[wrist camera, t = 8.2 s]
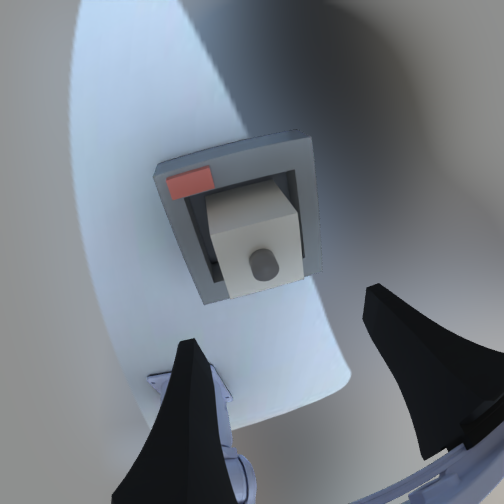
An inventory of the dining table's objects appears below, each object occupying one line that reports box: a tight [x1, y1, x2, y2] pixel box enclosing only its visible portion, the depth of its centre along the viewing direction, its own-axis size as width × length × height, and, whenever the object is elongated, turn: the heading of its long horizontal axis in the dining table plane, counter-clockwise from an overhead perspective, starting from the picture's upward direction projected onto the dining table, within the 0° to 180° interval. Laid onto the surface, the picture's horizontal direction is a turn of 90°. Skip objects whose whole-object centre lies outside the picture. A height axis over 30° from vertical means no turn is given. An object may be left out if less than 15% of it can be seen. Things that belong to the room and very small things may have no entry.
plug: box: [205, 179, 304, 299], centre depth 17 cm, size 4×4×6 cm
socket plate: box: [153, 129, 322, 305], centre depth 18 cm, size 10×9×3 cm
